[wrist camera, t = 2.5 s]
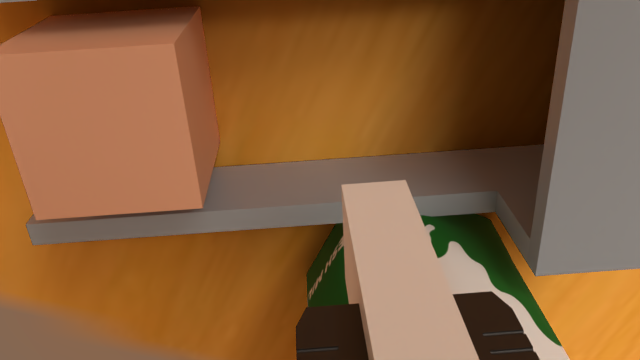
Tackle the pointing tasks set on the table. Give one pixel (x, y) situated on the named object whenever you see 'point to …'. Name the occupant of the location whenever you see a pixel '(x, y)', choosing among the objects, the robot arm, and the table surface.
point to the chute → (465, 169)
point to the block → (111, 112)
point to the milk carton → (450, 273)
